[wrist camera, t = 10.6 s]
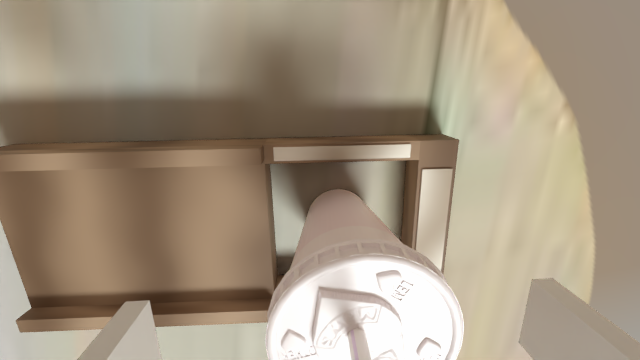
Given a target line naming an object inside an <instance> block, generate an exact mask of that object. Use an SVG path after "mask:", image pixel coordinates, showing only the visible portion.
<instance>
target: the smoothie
mask: <svg viewBox="0 0 640 360" xmlns="http://www.w3.org/2000/svg"><path fill="white" fill-rule="evenodd" d="M267 317H268V324H267V330H266V350H267V356H268V359H269V360H456V358H457V356H458V353H459V351H460V348H461V345H462V340H463V333H464V323H463V315H462V311H461V308H460V305H459V302H458V300H457V298H456V296H455V295H454V293H453V291H452V290H451V288H450V287H449V285H448V283H447V281H446V279H445V277H444V275H443V273H442V272H441V271H440V270H439V269H438V268H437V267H436V266H435V265H434V264H433V263H432V262H431V261H430V260H429V259H428V258H427V257H426V256H424V255H422V254H421V253H419V252H417V251H415V250H414V249H412V248H410V247H408V246H406V245H404V244H403V243H402V242H401V241H400V240H399V239H398V238H397V237H396V236H395V235H394V234H393V233H392V232H391V231H390V230H389V228H388V227H387V226H386V225H385V224H384V223H383V222H382V221H381V220H380V219H379V218H378V217H377V216H376V215H375V214H374V212H373V211H372V210H371V209H370V208H369V207H368V206H367V205H366V204H365V203H364V202H363V201H362V200H361V199H360V198H359V197H358V196H357V195H356V194H354V193H352V192H350V191H347V190H343V189H334V190H330V191H327V192H324V193H322V194H321V195H319V196H318V197H317V198H316V199H315V200H314V201H313V203H312V204H311V206H310V208H309V212H308V215H307V218H306V221H305V224H304V227H303V230H302V233H301V236H300V240H299V243H298V246H297V249H296V252H295V255H294V258H293V261H292V265H291V267H290V270H289V271H288V272H287V273H286V274H285V276H284V277H283V279H282V280H281V282H280V283H279V285H278V286H277V288H276V289H275V291H274V292H273V296H272V299H271V302H270V306H269V309H268V313H267Z"/></svg>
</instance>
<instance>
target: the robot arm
mask: <svg viewBox="0 0 640 360" xmlns="http://www.w3.org/2000/svg"><path fill="white" fill-rule="evenodd" d="M519 343H520V344H521V346H522V347H523V348H524V349H525V350H526V351H527V352H528V354H529V355H530V356H531V357H532V358H533V359H534V360H640V343H639V342H638V341H636V340H635V339H633V338H632V337H631V336H629V335H628V334H627V333H625V332H624V331H623V330H621V329H620V328H619V327H617V326H616V325H615V324H613V323H612V322H611V321H609V320H608V319H607V318H605V317H604V316H603V315H601V314H600V313H599V312H597V311H596V310H595V309H593V308H592V307H591V306H589V305H588V304H587V303H585V302H584V301H583V300H581V299H580V298H579V297H577V296H576V295H574V294H573V293H572V292H570V291H569V290H568V289H566V288H565V287H564V286H562V285H561V284H560V283H558V282H557V281H556V280H554V279H553V278H549V279H532V282H531V286H530V291H529V296H528V301H527V305H526V310H525V315H524V319H523V324H522V329H521V334H520V338H519ZM77 360H162V357H161V352H160V347H159V343H158V338H157V333H156V329H155V324H154V319H153V314H152V310H151V305H150V300H145V301H127V302H125V303H124V304H123V305H122V306H121V308H120V309H119V310H118V311H117V312H116V314H115V315H114V316H113V317H112V318H111V320H110V321H109V322H108V323H107V324H106V326H105V327H104V328H103V329H102V330H101V332H100V333H99V334H98V335H97V337H96V338H95V339H94V340H93V341H92V343H91V344H90V345H89V346H88V347H87V349H86V350H85V351H84V352H83V353H82V355H81V356H80V357H79V358H78V359H77Z"/></svg>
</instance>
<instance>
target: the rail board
mask: <svg viewBox="0 0 640 360" xmlns="http://www.w3.org/2000/svg"><path fill="white" fill-rule="evenodd" d="M458 144H459V140H458V139H455V138H452V137H449V136H446V135H443V134H431V135H388V136H345V137H302V138H260V139H217V140H174V141H131V142H89V143H46V144H13V145H8V146H2V147H0V220H1V223H2V226H3V229H4V231H5V234H6V237H7V240H8V243H9V245H10V248H11V251H12V254H13V257H14V259H15V262H16V265H17V268H18V271H19V274H20V276H21V279H22V282H23V285H24V288H25V290H26V293H27V296H28V299H29V302H30V304H31V307H32V308H31V309H30V310H28V311H27V312H26V313H25V314H23V315H22V316H21V317H20V318H18V319H17V320H16V323H17V325H18V328H19V331H20V332H43V331H67V330H92V329H103V328H104V327H105V326H106V324H107V323H108V322H109V321H110V320H111V318H112V317H113V316H114V315H115V314H116V312H117V311H118V310H119V309H120V308H121V306H122V305H123V304H124V303H125V302H127V301H145V300H150V305H151V310H152V314H153V319H154V324H155V327H164V326H189V325H213V324H237V323H261V322H268V317H267V313H268V309H269V306H270V302H271V299H272V296H273V292H274V291H275V289H276V288H277V286H278V285H279V283H280V282H281V280H282V279H283V277H284V276H285V275H278V274H277V259H276V245H275V230H274V215H273V200H272V186H271V171H270V164H280V163H319V162H357V161H396V160H406V173H405V188H404V203H403V218H402V232H401V242H402V243H403V244H404V245H406V246H408V247H410V248H412V249H414V250H415V251H417V252H419V253H421V254H422V255H424V256H426V257H427V258H428V259H429V260H430V261H431V262H432V263H433V264H434V265H435V266H436V267H437V268H438V269H439V270H440V271H441V272H442V273H443V272H444V263H445V255H446V246H447V238H448V229H449V221H450V212H451V204H452V195H453V186H454V178H455V169H456V161H457V152H458Z"/></svg>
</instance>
